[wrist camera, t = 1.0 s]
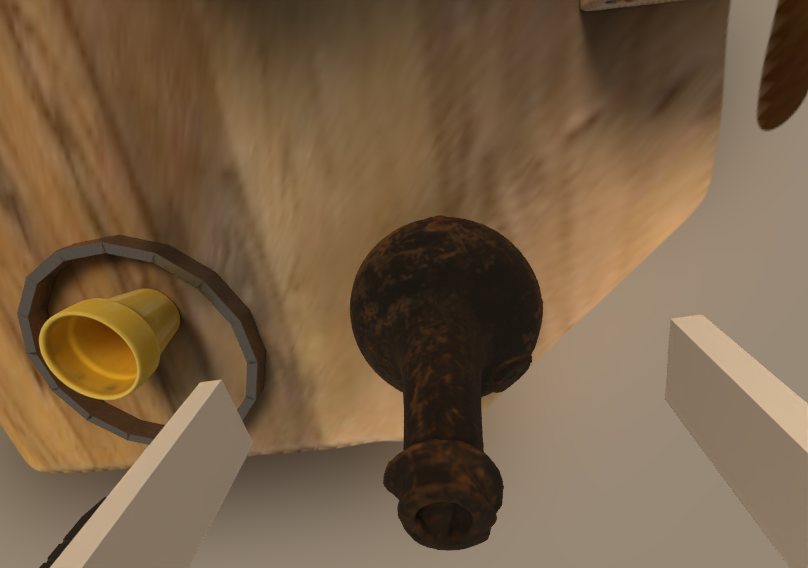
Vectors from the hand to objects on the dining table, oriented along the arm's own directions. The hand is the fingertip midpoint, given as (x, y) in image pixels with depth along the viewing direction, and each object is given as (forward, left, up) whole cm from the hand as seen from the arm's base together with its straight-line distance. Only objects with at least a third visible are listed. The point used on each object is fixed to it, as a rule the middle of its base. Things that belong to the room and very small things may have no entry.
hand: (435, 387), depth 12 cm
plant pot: (-6, -36, -31) cm, 48 cm away
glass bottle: (+9, -5, -31) cm, 33 cm away
